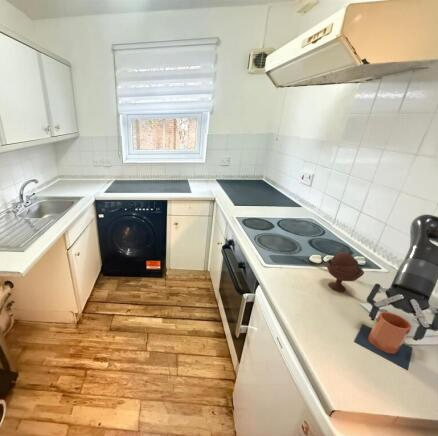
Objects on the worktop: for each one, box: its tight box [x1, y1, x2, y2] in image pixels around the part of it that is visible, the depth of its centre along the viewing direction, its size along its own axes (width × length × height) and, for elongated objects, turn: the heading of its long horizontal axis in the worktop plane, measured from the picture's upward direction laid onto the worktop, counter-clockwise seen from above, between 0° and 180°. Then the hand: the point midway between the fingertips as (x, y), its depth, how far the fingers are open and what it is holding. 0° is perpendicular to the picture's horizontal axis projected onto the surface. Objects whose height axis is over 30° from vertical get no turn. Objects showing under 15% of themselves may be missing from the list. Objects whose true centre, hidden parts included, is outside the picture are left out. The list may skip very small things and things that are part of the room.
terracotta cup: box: [368, 311, 412, 354], centre depth 66 cm, size 6×6×9 cm
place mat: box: [353, 323, 413, 371], centre depth 68 cm, size 11×10×1 cm
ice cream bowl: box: [325, 252, 365, 293], centre depth 88 cm, size 11×11×15 cm
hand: (392, 329), depth 65 cm, fingers open, 8 cm apart
